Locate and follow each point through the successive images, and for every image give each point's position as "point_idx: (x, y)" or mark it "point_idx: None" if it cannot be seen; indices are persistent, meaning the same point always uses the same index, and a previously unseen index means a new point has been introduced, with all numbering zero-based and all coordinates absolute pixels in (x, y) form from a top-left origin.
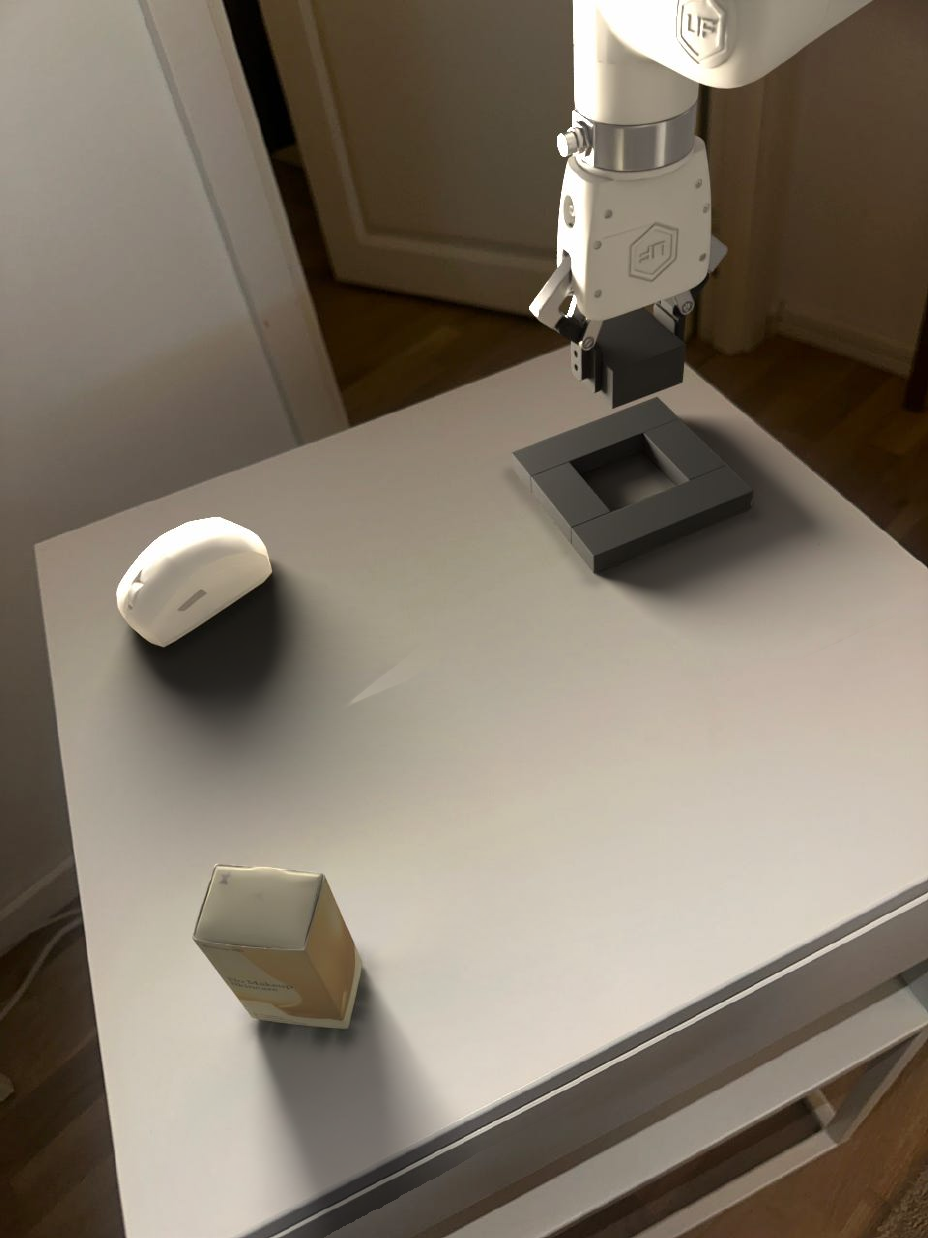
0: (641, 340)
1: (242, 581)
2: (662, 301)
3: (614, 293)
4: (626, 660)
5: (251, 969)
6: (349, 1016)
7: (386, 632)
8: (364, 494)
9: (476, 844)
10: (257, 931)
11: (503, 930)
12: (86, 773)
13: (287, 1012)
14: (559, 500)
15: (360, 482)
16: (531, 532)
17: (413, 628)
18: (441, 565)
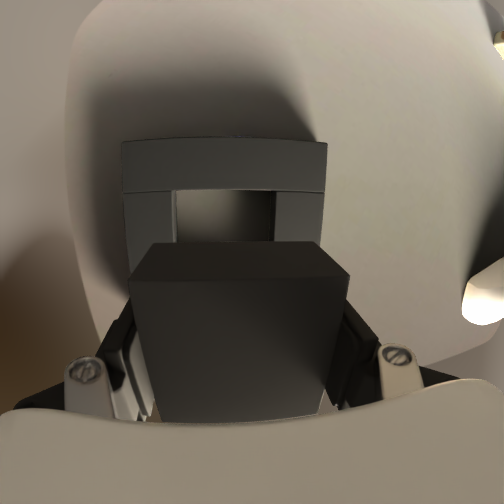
0: (219, 347)
1: (486, 276)
2: (135, 414)
3: (485, 453)
4: (342, 52)
5: None
6: (497, 33)
7: (455, 193)
8: (401, 328)
9: (456, 37)
10: None
11: (452, 5)
12: None
13: None
14: (312, 236)
15: (396, 340)
16: (336, 226)
17: (445, 185)
18: (408, 231)
